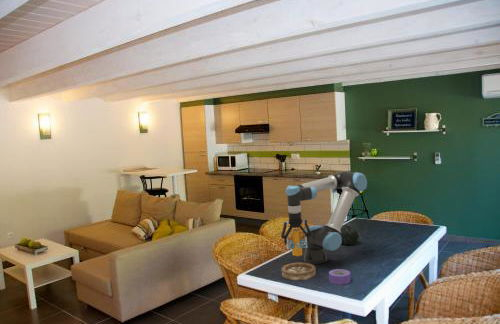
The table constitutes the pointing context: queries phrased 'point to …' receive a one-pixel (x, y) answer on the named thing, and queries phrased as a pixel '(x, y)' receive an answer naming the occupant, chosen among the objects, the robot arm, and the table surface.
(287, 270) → the round brown basket
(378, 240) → the table surface
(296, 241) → the orange upright piece
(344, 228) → the squash
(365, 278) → the table surface
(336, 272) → the tape roll
